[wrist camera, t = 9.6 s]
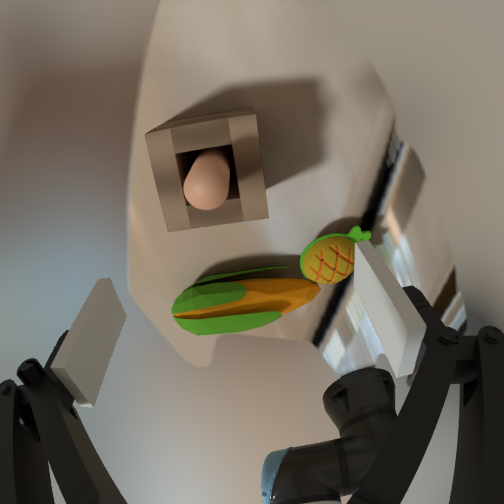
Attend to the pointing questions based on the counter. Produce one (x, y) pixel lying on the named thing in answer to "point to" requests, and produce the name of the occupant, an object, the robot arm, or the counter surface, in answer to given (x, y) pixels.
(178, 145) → the socket block
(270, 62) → the counter surface
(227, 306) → the corn
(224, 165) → the peg
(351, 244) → the toy pineapple
